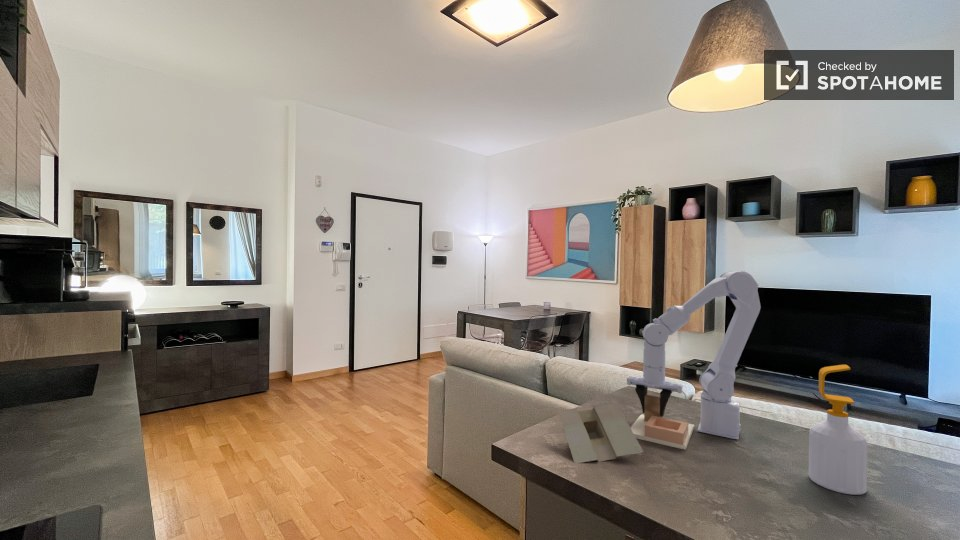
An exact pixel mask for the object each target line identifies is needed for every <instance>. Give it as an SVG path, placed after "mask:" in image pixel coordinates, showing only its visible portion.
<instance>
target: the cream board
mask: <svg viewBox="0 0 960 540" xmlns="http://www.w3.org/2000/svg"><path fill="white" fill-rule="evenodd" d="M646 423H647V422H646V421H644V413H643V414H640V415H639V416H638V417H637V419H636V420H635V421H634V422H633V424H631V426H630V428H631V430H632V432H633V434H634V435H635V438H636V439H637V440H643V441H646V442H652V443H655V444H659V445H663V446H668V447H672V448H675V449H676V448H677V449H681V450H684V451H685V450H686V449H687V446H688V445H689V442H690V440H691V437H692V434H693V432H694V429H695V424H692V423H688V435H687V438H686V440H685V442H684V445H680V444H676V443H672V442H667V441H663V440H658V439H654V438H650V437H645V424H646Z"/></svg>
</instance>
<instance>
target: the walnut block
mask: <svg viewBox="0 0 960 540" xmlns="http://www.w3.org/2000/svg"><path fill="white" fill-rule="evenodd" d="M660 407H661V400H660V394H658V393H657V394H655V393H650V392H647V394H646V395H645V406H644V413H643V415H644V421H646V422H648V420H649V419H650V417H651V416H657V417H661V416H660Z"/></svg>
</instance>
